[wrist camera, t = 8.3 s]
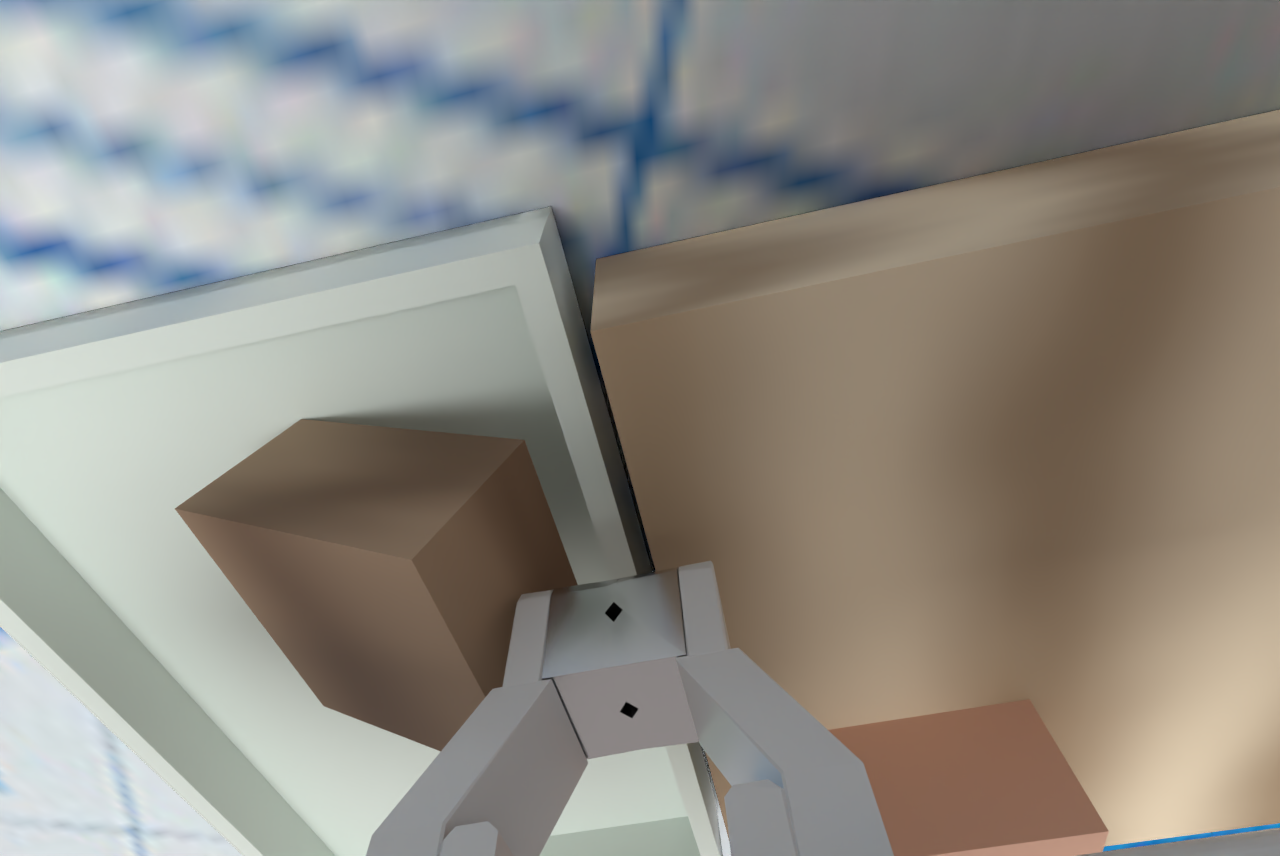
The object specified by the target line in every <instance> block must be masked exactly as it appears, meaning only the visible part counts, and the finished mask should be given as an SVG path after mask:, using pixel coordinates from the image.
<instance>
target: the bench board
mask: <svg viewBox="0 0 1280 856" xmlns="http://www.w3.org/2000/svg"><path fill="white" fill-rule="evenodd" d="M590 332H591V336H592V339H593V343H594V347H595V350H596V354H597V358H598V361H599V365H600V369H601V372H602V376H603V380H604V383H605V387H606V391H607V394H608V398H609V402H610V405H611V409H612V413H613V416H614V420H615V424H616V427H617V431H618V435H619V438H620V442H621V446H622V449H623V453H624V457H625V460H626V464H627V468H628V471H629V475H630V479H631V482H632V486H633V490H634V493H635V497H636V501H637V504H638V508H639V512H640V515H641V519H642V522H643V526H644V530H645V533H646V537H647V541H648V544H649V548H650V552H651V555H652V559H653V563H654V566H655V570H656V571H660V570H665V569H671V568H676V567H678V568H679V567H680V566H685V565H690V564H695V563H701V562H706V561H712V563H713V566H714V571H715V575H716V580H717V585H718V590H719V594H720V599H721V604H722V609H723V614H724V618H725V623H726V628H727V633H728V637H729V642H730V647H731V649H732V648H739V649H741V650H742V651H743V652H744V653H745V654H746V655H747V656H748V657H749V658H750V659H751V660H752V661H754V662H755V663H756V664H757V665H758V666H759V667H760V668H761V669H762V670H763V671H764V672H766V673H767V674H768V675H769V676H770V677H771V678H772V679H773V680H774V681H775V682H776V683H777V684H779V685H780V686H781V687H782V688H783V689H784V690H785V691H786V692H787V693H788V694H789V695H790V696H792V697H793V698H794V699H795V700H796V701H797V702H798V703H799V704H800V705H801V706H802V707H803V708H805V709H806V710H807V711H808V712H809V713H810V714H811V715H812V716H813V717H814V718H815V719H816V720H818V721H819V722H820V723H821V724H822V725H823V726H824V727H825V728H826V729H827V730H831V729H837V728H844V727H850V726H857V725H863V724H870V723H877V722H883V721H890V720H896V719H903V718H909V717H916V716H922V715H929V714H935V713H942V712H949V711H955V710H962V709H968V708H975V707H981V706H988V705H994V704H1001V703H1007V702H1014V701H1021V700H1027V699H1030V701H1031V702H1032V704H1033V706H1034V707H1035V709H1036V711H1037V712H1038V714H1039V716H1040V717H1041V719H1042V721H1043V722H1044V724H1045V726H1046V727H1047V729H1048V731H1049V732H1050V734H1051V736H1052V737H1053V739H1054V741H1055V742H1056V744H1057V746H1058V747H1059V749H1060V751H1061V752H1062V754H1063V756H1064V757H1065V759H1066V761H1067V762H1068V764H1069V766H1070V767H1071V769H1072V771H1073V772H1074V774H1075V776H1076V777H1077V779H1078V781H1079V782H1080V784H1081V786H1082V787H1083V789H1084V791H1085V792H1086V794H1087V796H1088V797H1089V799H1090V801H1091V802H1092V804H1093V806H1094V807H1095V809H1096V811H1097V812H1098V814H1099V816H1100V817H1101V819H1102V821H1103V822H1104V824H1105V826H1106V827H1107V829H1108V831H1109V832H1108V836H1107V839H1106V842H1105V845H1104V846H1110V845H1118V844H1125V843H1133V842H1140V841H1148V840H1155V839H1163V838H1170V837H1178V836H1185V835H1193V834H1200V833H1208V832H1215V831H1223V830H1230V829H1238V828H1245V827H1253V826H1260V825H1268V824H1275V823H1280V110H1275V111H1270V112H1266V113H1261V114H1257V115H1252V116H1248V117H1243V118H1238V119H1234V120H1229V121H1225V122H1220V123H1216V124H1211V125H1206V126H1202V127H1197V128H1193V129H1188V130H1184V131H1179V132H1174V133H1170V134H1165V135H1161V136H1156V137H1152V138H1147V139H1143V140H1138V141H1133V142H1129V143H1124V144H1120V145H1115V146H1111V147H1106V148H1101V149H1097V150H1092V151H1088V152H1083V153H1079V154H1074V155H1069V156H1065V157H1060V158H1056V159H1051V160H1047V161H1042V162H1037V163H1033V164H1028V165H1024V166H1019V167H1015V168H1010V169H1005V170H1001V171H996V172H992V173H987V174H983V175H978V176H973V177H969V178H964V179H960V180H955V181H951V182H946V183H942V184H937V185H932V186H928V187H923V188H919V189H914V190H910V191H905V192H900V193H896V194H891V195H887V196H882V197H878V198H873V199H868V200H864V201H859V202H855V203H850V204H846V205H841V206H836V207H832V208H827V209H823V210H818V211H814V212H809V213H804V214H800V215H795V216H791V217H786V218H782V219H777V220H772V221H768V222H763V223H759V224H754V225H750V226H745V227H740V228H736V229H731V230H727V231H722V232H718V233H713V234H709V235H704V236H699V237H695V238H690V239H686V240H681V241H677V242H672V243H667V244H663V245H658V246H654V247H649V248H645V249H640V250H635V251H631V252H626V253H622V254H617V255H613V256H608V257H603V258H599V259H596V268H595V280H594V293H593V305H592V318H591V330H590ZM705 753H706V752H705ZM706 757H707V761H708V764H709V768H710V772H711V775H712V779H713V783H714V786H715V790H716V794H717V797H718V801H719V805H720V808H721V812H722V816H723V819H724V823H725V827H726V830H727V834H728V838H729V832H728V824H727V816H726V808H725V800H724V797H725V796H726V794H727V793H728V791H729V790H730V788H731V787H732V786H731V785H730V783H729V782H728V781H727V779H726V778H725V777H724V776H723V774H722V773H721V772H720V770H719V769H718V768H717V766H716V765H715V764H714V762H713V761H712V760H711V759H710V757H709V756H708V755H707V753H706ZM729 841H730V840H729Z"/></svg>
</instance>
